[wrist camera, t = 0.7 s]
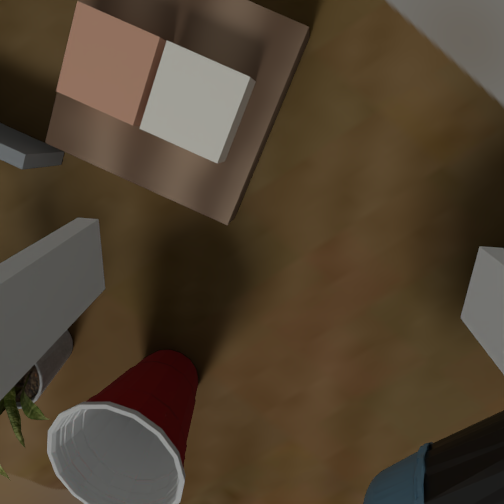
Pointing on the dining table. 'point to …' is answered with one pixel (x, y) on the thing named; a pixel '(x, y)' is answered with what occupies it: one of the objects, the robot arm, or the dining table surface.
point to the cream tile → (196, 103)
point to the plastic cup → (129, 435)
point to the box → (26, 150)
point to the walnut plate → (212, 47)
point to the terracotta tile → (110, 64)
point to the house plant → (35, 385)
